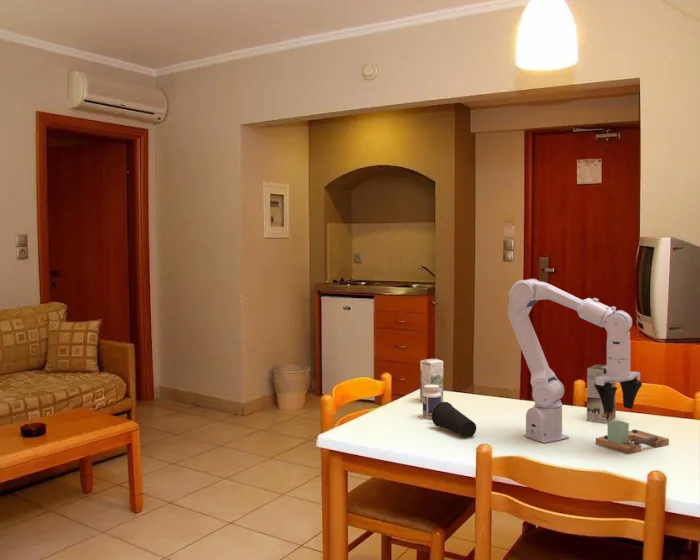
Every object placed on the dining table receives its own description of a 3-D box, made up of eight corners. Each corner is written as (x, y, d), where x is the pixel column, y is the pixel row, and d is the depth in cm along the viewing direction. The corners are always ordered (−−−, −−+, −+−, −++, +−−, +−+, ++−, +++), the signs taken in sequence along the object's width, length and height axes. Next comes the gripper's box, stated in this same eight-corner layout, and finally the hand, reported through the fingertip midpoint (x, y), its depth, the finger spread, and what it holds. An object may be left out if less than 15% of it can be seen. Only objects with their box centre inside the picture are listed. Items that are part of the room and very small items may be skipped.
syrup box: (432, 399, 226) (432, 358, 226) (443, 402, 221) (443, 360, 221) (419, 401, 223) (419, 359, 223) (430, 404, 218) (430, 362, 218)
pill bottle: (444, 416, 202) (444, 384, 202) (436, 420, 198) (436, 388, 197) (427, 414, 206) (427, 383, 205) (419, 418, 201) (419, 386, 200)
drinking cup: (459, 447, 178) (423, 423, 196) (482, 437, 181) (444, 414, 199) (455, 422, 176) (418, 400, 194) (478, 412, 179) (439, 392, 197)
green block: (619, 444, 166) (619, 424, 166) (607, 440, 169) (607, 421, 169) (628, 442, 168) (628, 423, 168) (616, 438, 171) (617, 420, 171)
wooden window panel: (627, 454, 163) (627, 444, 163) (595, 444, 172) (595, 434, 172) (668, 444, 171) (669, 434, 170) (636, 435, 179) (636, 426, 179)
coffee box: (608, 424, 192) (608, 369, 191) (586, 420, 195) (586, 367, 195) (616, 417, 199) (616, 365, 198) (595, 414, 203) (595, 363, 202)
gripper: (611, 362, 161) (611, 416, 161) (650, 357, 168) (650, 409, 168) (589, 358, 167) (589, 410, 167) (627, 353, 174) (627, 404, 174)
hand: (618, 409), depth 168 cm, fingers open, 7 cm apart
